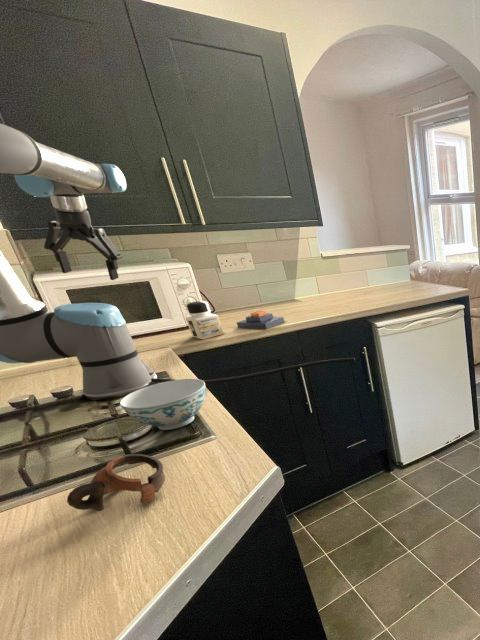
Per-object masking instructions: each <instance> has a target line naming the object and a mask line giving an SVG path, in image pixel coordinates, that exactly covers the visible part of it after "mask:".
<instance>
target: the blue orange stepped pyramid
mask: <svg viewBox="0 0 480 640" xmlns="http://www.w3.org/2000/svg"><path fill="white" fill-rule="evenodd" d="M266 314H267V315H264V316H261V317H251V315H249V316H246V317H245V319H243V320H239V321H237V322H236V325H237V328H238V329H260V330H261V329H263V330H268V329H270V328H272V327H275V326H278V325H281V324H284V323H285V318H284V316H274V315H273V313H271V312H270V313H267V312H266Z"/></svg>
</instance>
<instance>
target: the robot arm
mask: <svg viewBox="0 0 480 640" xmlns="http://www.w3.org/2000/svg"><path fill="white" fill-rule="evenodd" d="M0 174H8V175H12V176H13V175H14V180H15V183H16V184H17V186H18V187H19V188H20V189H21V190H22V191H24V192H25V193H27V194H28V195H31V196H33V197H37V198H46V197H49V198H50V202H51V204H52V207H53V208H54V214H55V216H56V219H57V220H56V219H55V220H51V221H47V226H48V230H47V233H46V238H45V242H44V245H43V248H44V249H45V250H49V251H51V252H53V254H54V257H55V261H56V262H58V263H59V266H60V268H61V273H63V274H68V273H70V272H72V271H73V270H72V266H71V264H70V261H69V257H68V255H67V252H66V251H65V250H64V248H65V247H66V246H67V245H68V243H69V242H70V240H78V241H83V242H84V241H85V242H86V243H87V244H90V245H91V246H92V247H93V248H94V249H95V250H96V251H98V252H99V253H100V254H101V255H102V256H103V257H104V258H105V259H106V260H104V261H105V262H104V263H105V265H106V269H107V272H108V275H109V279H110V280H111V281H115V280H117V279H119V273H118V270H119V264H118V260H120V259H123V255H122V254H121V252H120V251H119V250H118V249H117V247H116V246H115V244H114V243H113V242H112V240H111V239H110V238H109V236H108V235H107V233H106V231H105V228H103V227H99V228H94V227H93V226H92V220H91V216H90V212H89V210H88V205H87V202H86V198H85V196H84V194H108V193H109V194H115V193H124V192H125V191H126V190H127V188H128V187H127V181H126V177H125V176H124V173H123V172H122V171H121V169H120V168H119V167H118V166H117V165H116V164H112V163H105V162H104V163H103V162H101V163H94V162H91V161H88V160H85V159H83V158H81V157H77V156H75V155H72V154H71V153H70V154H69V153H67V152H65V151H62V150H58V149H56V148H53V147H51V146H48V145H46V144H43V143H41V142H37V141H36V140H35V139H33V138H32V137H31V136H29V135H28V134H26V133H25V132H23V131H21V130H19V129H16V128H13V127H11V126H9V125H6V124H3V123H0ZM60 230H62V231H63V232H62V234H61V235H60V237H59V233H60ZM58 237H59V239H58ZM67 358H68V359H69V358H77V361H78V362H79V364H80V366H81V370H82V391H83V394H84V396H85V398H86V399H87V400H90V401H105V400H113V399H117V398H118V399H119V398H124V397H125V396H127V395H129V394H130V393H132V392H135V391H137V390H139V389H142V388H145V387H148V386H151V385H154V384H158V383H162V382H167V381H172V380H176V378H175V379H172V378H158V376H157V374H156V373H155V371H154V370H153V369H152V368H151V367H150V366H149V365H148V364H147V362H145V361H144V359H142V358H141V356H140V355H139V352H138V349H137V348H136V345H135V343H134V339H133V338H132V336H131V333H130V331H129V328H128V326H127V323H126V319H124V317H123V315H122V313H121V311H120V309H118V307H117V306H115V305H113V304H109V303H105V302H103V303H102V302H78V303H67V304H60V305H58V306H56V307H54V308H53V311H51V312H50V310H49V309H48V308H47V306H46V304H45V303H44V302H43V301H41V300H38V299H35V298H32V296H31V295H30V293H28V291H27V289H26V288H25V286H24V285H23V283H22V281H21V280H20V279H19V277H18V275H17V274H16V272H15V271H14V269H13V268H12V266H11V264H10V263H9V261H8V260H7V258H6V257H5V255H4V254H3V252H2V251H1V249H0V362H2V363H6V364H34V363H38V362H45V361H51V360H52V361H53V360H60V359H67ZM344 362H345V363H346V362H356V358H355V357H348V358H347V357H346V358H334V359H326V360H325V359H324V360H318V361H317V360H316V361H311V362H306V363H300V364H295V365H289V366H285V367H279V368H274V369H270V370H265V371H261V372H255V373H251V374H243V375H239V376H232V377H225V378H216V379H208V380H204V379H203V381H204V382H205V385H209V384H220V383H227V382H234V381H241V380H247V379H251V378H258V377H262V376H266V375H272V374H277V373H281V372H285V371H291V370H295V369H301V368H307V367H311V366H317V365H324V364H325V365H326V364H332V363H333V364H334V363H344ZM161 381H162V382H161Z"/></svg>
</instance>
